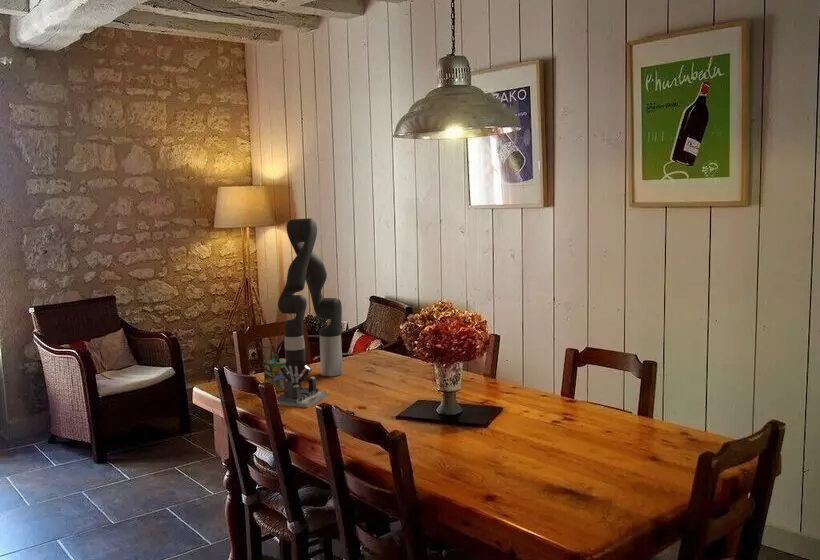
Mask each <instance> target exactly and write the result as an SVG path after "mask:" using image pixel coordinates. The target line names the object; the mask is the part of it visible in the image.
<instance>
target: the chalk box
mask: <svg viewBox="0 0 820 560" xmlns="http://www.w3.org/2000/svg"><path fill="white" fill-rule="evenodd" d="M272 356H273V359H270V360H263V362H262V363H263V374H264V383H265V382H270V383H272V384H273V385H274V387H275V390H276V393H280V391H281V392H284V381H285V380H286V379H287V378H286V377H285V376H284V374H283V373H282V372H281V370H280V369H281V368H282V367H284V366H285V363H286V359H285V358H284V357H283V358H279V354H277V353H275V352H272ZM288 371H289V370H288ZM292 387H293V383H292Z"/></svg>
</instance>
